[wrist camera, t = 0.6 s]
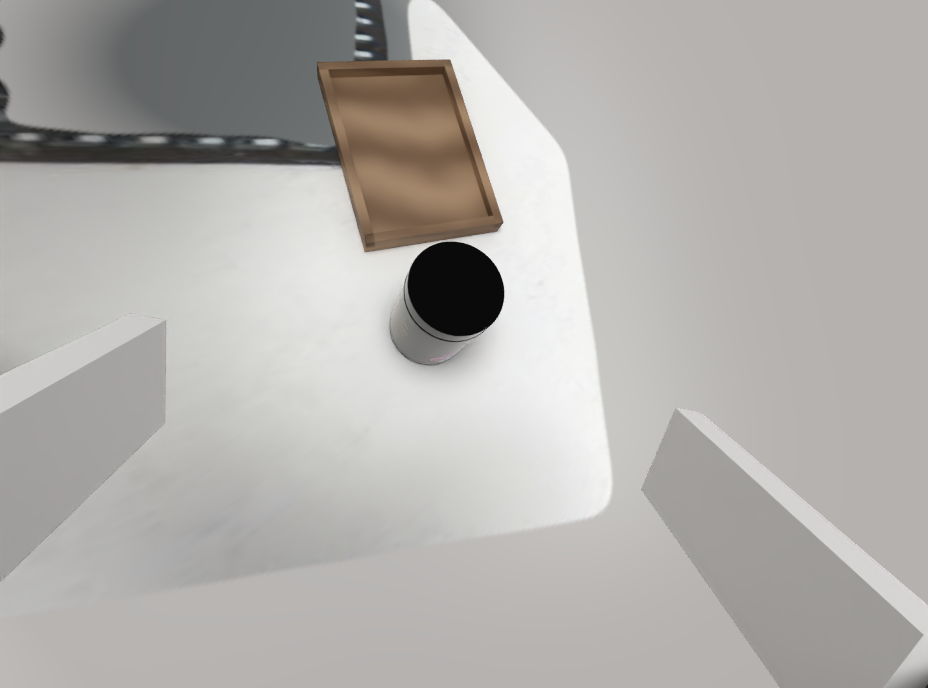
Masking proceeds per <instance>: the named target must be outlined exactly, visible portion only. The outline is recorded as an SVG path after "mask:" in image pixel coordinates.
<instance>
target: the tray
mask: <svg viewBox="0 0 928 688" xmlns="http://www.w3.org/2000/svg"><path fill="white" fill-rule="evenodd" d="M317 75H318V81H319V85H320V88H321V92H322V96H323V99H324V103H325V107H326V110H327V114H328V118H329V121H330V125H331V129H332V132H333V136H334V140H335V144H336V147H337V151H338V155H339V159H340V162H341V166H342V170H343V173H344V177H345V181H346V184H347V188H348V192H349V195H350V199H351V203H352V206H353V210H354V214H355V217H356V221H357V225H358V229H359V232H360V236H361V240H362V243H363V247H364V251H365V252H368V251H375V250H381V249H387V248H394V247H400V246H407V245H413V244H419V243H426V242H432V241H438V240H445V239H451V238H457V237H464V236H470V235H477V234H483V233H489V232H496V231H497V230H498V229H499V228H500V226H501V225H502V224H503V220H502V217H501V214H500V211H499V208H498V204H497V201H496V198H495V195H494V192H493V189H492V186H491V183H490V180H489V177H488V174H487V171H486V168H485V165H484V162H483V159H482V155H481V152H480V149H479V146H478V143H477V140H476V137H475V134H474V131H473V128H472V125H471V122H470V119H469V116H468V113H467V110H466V106H465V103H464V100H463V97H462V94H461V91H460V88H459V85H458V82H457V79H456V76H455V73H454V70H453V67H452V64H451V61H450V60H402V61H348V62H317Z"/></svg>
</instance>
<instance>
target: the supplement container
mask: <svg viewBox="0 0 928 688" xmlns="http://www.w3.org/2000/svg"><path fill="white" fill-rule="evenodd" d="M503 302H504V285H503V281H502V278H501V275H500V273H499V271H498V269H497V267H496V266H495V264H494V263H493V262H492V261H491V259H490V258H489V257H488V256H486V255H485V254H484V253H483V252H481V251H480V250H478V249H477V248H475V247H473V246H471V245H468V244H465V243H460V242H442V243H438V244H435V245H432V246H430V247H428V248H427V249H425V250H424V251H423V252H421V253H420V254H419V255H418V256H417V258H416V259H415V260H414V262H413V264H412V266H411V268H410V270H409V272H408V274H407V276H406V279H405V282H404V286H403V288H402V291H401V293H400V295H399V298H398V300H397V303H396V305H395V307H394V310H393V312H392V315H391V319H390V332H391V336H392V339H393V341H394V343H395V345H396V347H397V348H398V349H399V351H400V352H401V353H402V354H403V355H405V356H406V357H407V358H409V359H411V360H413V361H415V362H417V363H421V364H438V363H442V362H444V361H446V360H448V359H450V358H451V357H452V356H454V355H455V354H456V353H457V352H458V351H460V350H461V349H462V348H463V347H464V346H466V345H467V344H468V343H469V342H470V341H472V340H473V339H474V338H475V337H477V336H479V335H480V334H481V333H483V332H484V331H485V330H486V329H487V328H488V327H489V326H490V325H491V324H492V323H493V322H494V321H495V320H496V319H497V317H498V315H499V314H500V312H501V309H502V306H503Z"/></svg>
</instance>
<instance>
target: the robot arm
mask: <svg viewBox="0 0 928 688" xmlns="http://www.w3.org/2000/svg"><path fill="white" fill-rule="evenodd" d="M165 380H166V320H164V319H158V318H152V317H147V316H141V315H135V314H128V315H126V316H124V317H122V318H120V319H118V320H116V321H113V322H111V323H109V324H107V325H105V326H103V327H101V328H99V329H97V330H94V331H92V332H90V333H88V334H86V335H84V336H82V337H80V338H78V339H75V340H73V341H71V342H69V343H67V344H65V345H63V346H61V347H59V348H56V349H54V350H52V351H50V352H48V353H46V354H44V355H42V356H40V357H37V358H35V359H33V360H31V361H29V362H27V363H25V364H23V365H21V366H18V367H16V368H14V369H12V370H10V371H8V372H6V373H4V374H1V375H0V582H1V581H2V580H3V579H4V578H5V577H6V576H7V575H8V574H9V573H10V572H11V571H12V570H13V569H14V568H15V567H16V566H17V565H18V564H19V563H20V562H21V561H23V560H24V559H25V558H26V557H27V556H28V555H29V554H30V553H31V552H32V551H33V550H34V549H35V548H36V547H37V546H38V545H39V544H40V543H41V542H42V541H43V540H44V539H45V538H46V537H47V536H48V535H49V534H50V533H52V532H53V531H54V530H55V529H56V528H57V527H58V526H59V525H60V524H61V523H62V522H63V521H64V520H65V519H66V518H67V517H68V516H69V515H70V514H71V513H72V512H73V511H74V510H75V509H76V508H77V507H78V506H80V505H81V504H82V503H83V502H84V501H85V500H86V499H87V498H88V497H89V496H90V495H91V494H92V493H93V492H94V491H95V490H96V489H97V488H98V487H99V486H100V485H101V484H102V483H103V482H104V481H105V480H106V479H108V478H109V477H110V476H111V475H112V474H113V473H114V472H115V471H116V470H117V469H118V468H119V467H120V466H121V465H122V464H123V463H124V462H125V461H126V460H127V459H128V458H129V457H130V456H131V455H132V454H133V453H134V452H136V451H137V450H138V449H139V448H140V447H141V446H142V445H143V444H144V443H145V442H146V441H147V440H148V439H149V438H150V437H151V436H152V435H153V434H154V433H155V432H156V431H157V430H158V429H159V428H160V427H161V426H162V425H163V424H165ZM641 490H642V491H643V493H644V494H645V496H646V497H647V498H648V500H649V501H650V503H651V504H652V506H653V507H654V509H655V510H656V511H657V513H658V514H659V515H660V517H661V518H662V520H663V521H664V523H665V524H666V526H667V527H668V528H669V530H670V531H671V533H672V534H673V536H674V537H675V538H676V540H677V541H678V543H679V544H680V546H681V547H682V548H683V550H684V551H685V553H686V554H687V555H688V557H689V558H690V560H691V561H692V563H693V564H694V565H695V567H696V568H697V570H698V571H699V573H700V574H701V576H702V577H703V578H704V580H705V581H706V583H707V584H708V586H709V587H710V588H711V590H712V591H713V593H714V594H715V596H716V597H717V598H718V600H719V601H720V603H721V604H722V605H723V607H724V608H725V610H726V611H727V613H728V614H729V615H730V617H731V618H732V620H733V621H734V623H735V624H736V626H737V627H738V628H739V630H740V631H741V633H742V634H743V636H744V637H745V638H746V640H747V641H748V643H749V644H750V645H751V647H752V648H753V650H754V651H755V652H756V654H757V655H758V657H759V658H760V660H761V661H762V662H763V664H764V665H765V667H766V668H767V670H768V671H769V672H770V674H771V675H772V677H773V678H774V680H775V681H776V683H777V684H778V685H779V687H780V688H928V605H927V604H926V603H924V602H923V601H922V600H921V599H920V598H918V597H917V596H916V595H915V594H914V593H913V592H912V591H910V590H909V589H908V588H907V587H905V586H904V585H903V584H902V583H901V582H900V581H898V580H897V579H896V578H895V577H894V576H893V575H891V574H890V573H889V572H888V571H887V570H886V569H884V568H883V567H882V566H881V565H880V564H878V563H877V562H876V561H875V560H874V559H873V558H871V557H870V556H869V555H868V554H867V553H865V552H864V551H863V550H862V549H861V548H860V547H858V546H857V545H856V544H855V543H854V542H852V541H851V540H850V539H849V538H848V537H846V536H845V535H844V534H843V533H842V532H841V531H839V530H838V529H837V528H836V527H835V526H834V525H833V524H831V523H830V522H829V521H828V520H827V519H825V518H824V517H823V516H822V515H821V514H820V513H818V512H817V511H816V510H815V509H814V508H812V507H811V506H810V505H809V504H808V503H806V502H805V501H804V500H803V499H802V498H801V497H800V496H798V495H797V494H796V493H795V492H794V491H792V490H791V489H790V488H789V487H788V486H786V485H785V484H784V483H783V482H782V481H781V480H779V479H778V478H777V477H776V476H775V475H774V474H772V473H771V472H770V471H769V470H768V469H766V468H765V467H764V466H763V465H762V464H761V463H759V462H758V461H757V460H756V459H755V458H754V457H752V456H751V455H750V454H749V453H748V452H746V451H745V450H744V449H743V448H742V447H741V446H739V445H738V444H737V443H736V442H735V441H733V440H732V439H731V438H730V437H729V436H728V435H726V434H725V433H724V432H723V431H722V430H720V429H719V428H718V427H717V426H716V425H715V424H713V423H712V422H711V421H710V420H709V419H708V418H706V417H705V416H704V415H703V414H702V413H700V412H695V411H690V410H684V409H678V408H676V409H675V411H674V413H673V415H672V418H671V420H670V422H669V425H668V427H667V430H666V432H665V434H664V437H663V439H662V441H661V444H660V446H659V449H658V451H657V453H656V456H655V458H654V460H653V463H652V465H651V467H650V470H649V472H648V474H647V477H646V479H645V482H644V484H643V486H642V489H641Z"/></svg>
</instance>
